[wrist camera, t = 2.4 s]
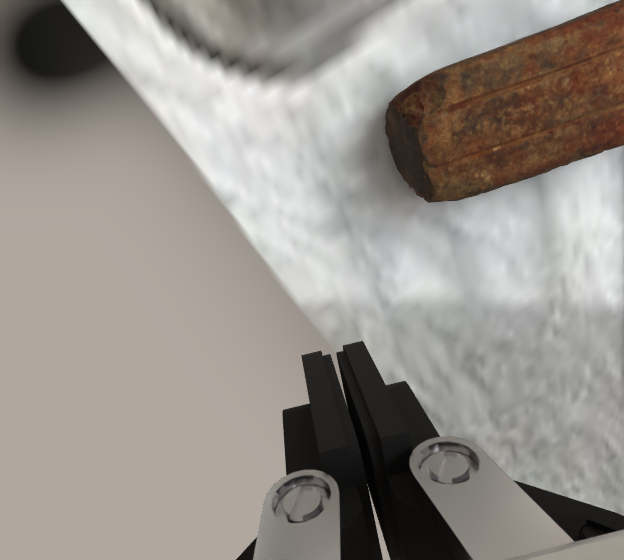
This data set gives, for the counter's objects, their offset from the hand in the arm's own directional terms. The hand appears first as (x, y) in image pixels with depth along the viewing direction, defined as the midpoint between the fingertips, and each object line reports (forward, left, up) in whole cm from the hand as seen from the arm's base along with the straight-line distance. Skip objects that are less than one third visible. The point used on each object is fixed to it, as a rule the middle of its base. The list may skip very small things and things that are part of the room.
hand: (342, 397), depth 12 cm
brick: (-8, -2, -5) cm, 10 cm away
